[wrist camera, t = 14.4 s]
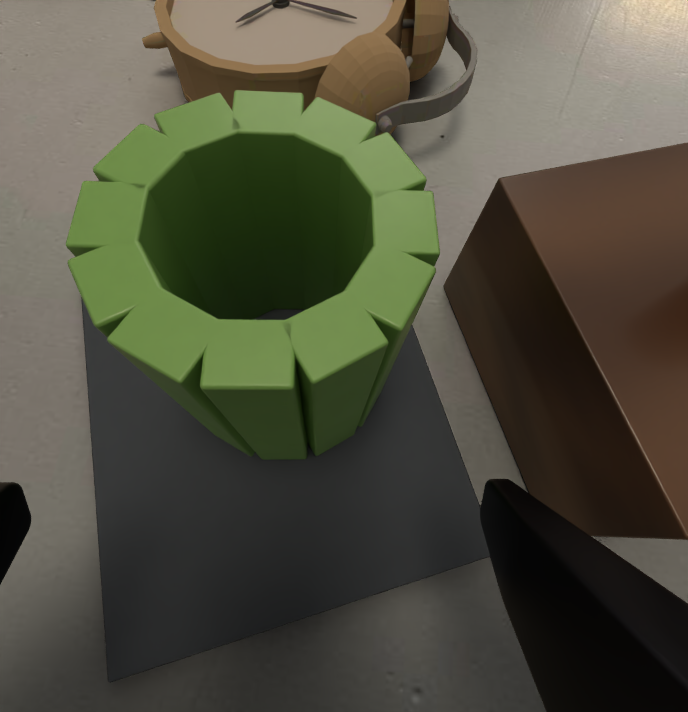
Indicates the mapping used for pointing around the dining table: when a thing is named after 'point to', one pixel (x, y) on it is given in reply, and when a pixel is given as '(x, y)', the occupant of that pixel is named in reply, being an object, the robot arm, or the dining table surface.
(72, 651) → the dining table surface
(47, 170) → the dining table surface
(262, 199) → the green slatted pot
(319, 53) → the alarm clock
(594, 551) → the robot arm
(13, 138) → the dining table surface
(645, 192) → the stand
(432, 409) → the mat
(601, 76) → the dining table surface
